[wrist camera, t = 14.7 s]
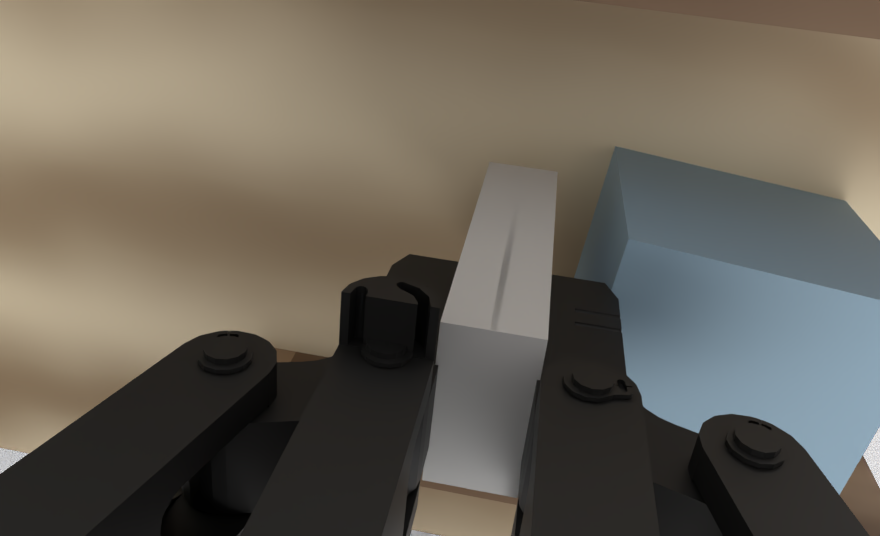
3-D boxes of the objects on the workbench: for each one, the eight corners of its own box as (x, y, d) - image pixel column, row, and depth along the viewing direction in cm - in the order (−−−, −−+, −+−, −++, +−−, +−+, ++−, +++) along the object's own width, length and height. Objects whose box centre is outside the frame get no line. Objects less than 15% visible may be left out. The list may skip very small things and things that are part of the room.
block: (756, 387, 19) (811, 541, 14) (555, 336, 19) (548, 473, 15) (845, 200, 16) (944, 315, 12) (615, 146, 17) (629, 238, 12)
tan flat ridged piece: (769, 527, 24) (823, 706, 19) (-25, 375, 27) (-174, 496, 21) (1178, -491, 13) (1578, -744, 8) (-225, -578, 16) (-627, -812, 11)
